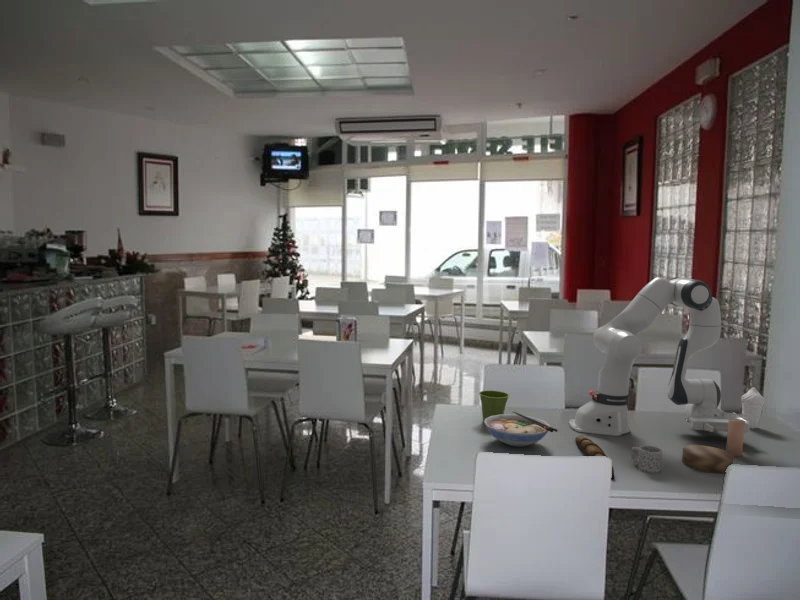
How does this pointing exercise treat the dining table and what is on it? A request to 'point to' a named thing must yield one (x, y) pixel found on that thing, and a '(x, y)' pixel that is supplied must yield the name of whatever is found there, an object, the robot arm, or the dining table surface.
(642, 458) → the mug
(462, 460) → the dining table surface
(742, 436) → the smooth tan cylinder
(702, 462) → the walnut stand
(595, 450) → the bread
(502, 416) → the ramen bowl
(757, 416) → the white tall pointed piece
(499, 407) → the plant pot
